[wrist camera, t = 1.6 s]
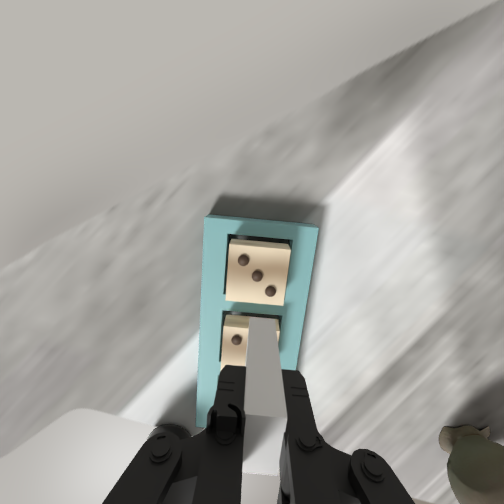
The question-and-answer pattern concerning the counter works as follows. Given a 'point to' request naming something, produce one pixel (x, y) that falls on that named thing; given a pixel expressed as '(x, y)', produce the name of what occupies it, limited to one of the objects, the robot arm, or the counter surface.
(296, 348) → the teal puzzle board
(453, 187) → the counter surface
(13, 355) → the counter surface
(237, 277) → the key three
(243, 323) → the key two
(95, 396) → the counter surface
